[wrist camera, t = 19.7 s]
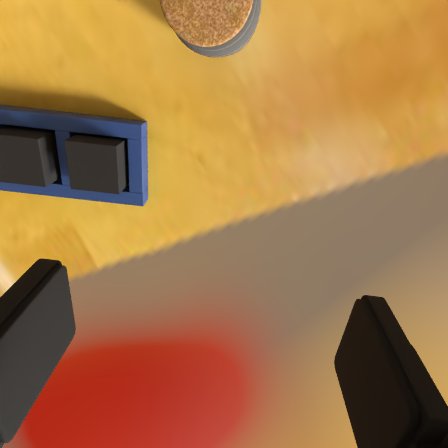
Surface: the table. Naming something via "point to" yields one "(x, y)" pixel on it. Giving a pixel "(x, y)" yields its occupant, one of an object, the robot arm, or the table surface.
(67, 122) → the frame
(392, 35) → the table surface
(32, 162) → the pad
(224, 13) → the bottle
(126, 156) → the pad
